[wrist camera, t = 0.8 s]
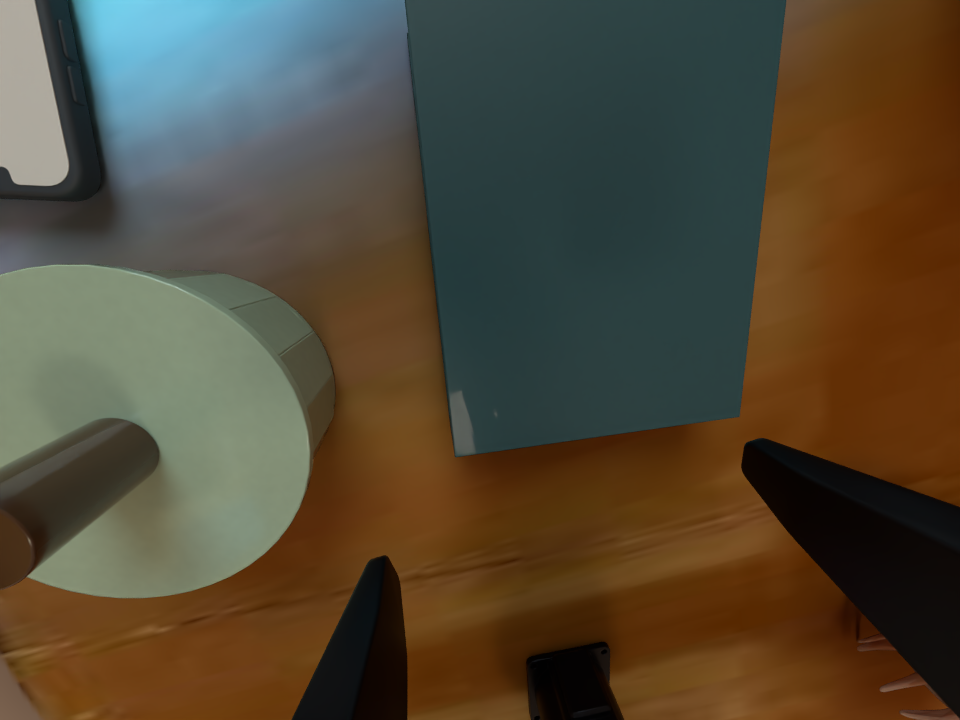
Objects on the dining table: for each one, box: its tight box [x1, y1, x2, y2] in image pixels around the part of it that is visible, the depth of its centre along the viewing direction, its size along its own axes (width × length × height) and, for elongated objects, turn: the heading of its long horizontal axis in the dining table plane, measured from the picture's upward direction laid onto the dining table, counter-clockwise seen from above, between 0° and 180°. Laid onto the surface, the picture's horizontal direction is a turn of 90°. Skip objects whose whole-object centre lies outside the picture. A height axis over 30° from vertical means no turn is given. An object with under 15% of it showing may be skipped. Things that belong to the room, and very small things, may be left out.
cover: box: [0, 264, 314, 598], centre depth 13 cm, size 14×14×6 cm
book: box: [405, 0, 786, 457], centre depth 20 cm, size 20×16×4 cm
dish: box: [143, 270, 335, 460], centre depth 18 cm, size 13×13×6 cm
